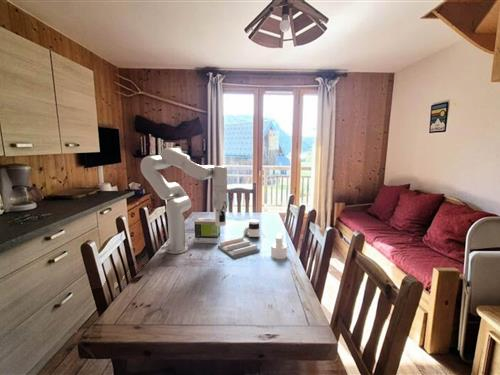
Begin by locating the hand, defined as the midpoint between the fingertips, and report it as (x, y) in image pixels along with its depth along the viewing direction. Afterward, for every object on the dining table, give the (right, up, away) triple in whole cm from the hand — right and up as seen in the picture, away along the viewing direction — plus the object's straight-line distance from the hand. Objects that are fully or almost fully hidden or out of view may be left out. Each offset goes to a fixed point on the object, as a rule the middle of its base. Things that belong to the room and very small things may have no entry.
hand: (220, 220), depth 144 cm
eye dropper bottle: (0, -3, 0) cm, 3 cm away
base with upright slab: (+33, -21, +5) cm, 40 cm away
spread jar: (+18, -16, +36) cm, 43 cm away
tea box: (-11, -17, +27) cm, 34 cm away
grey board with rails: (+10, -19, +13) cm, 25 cm away
